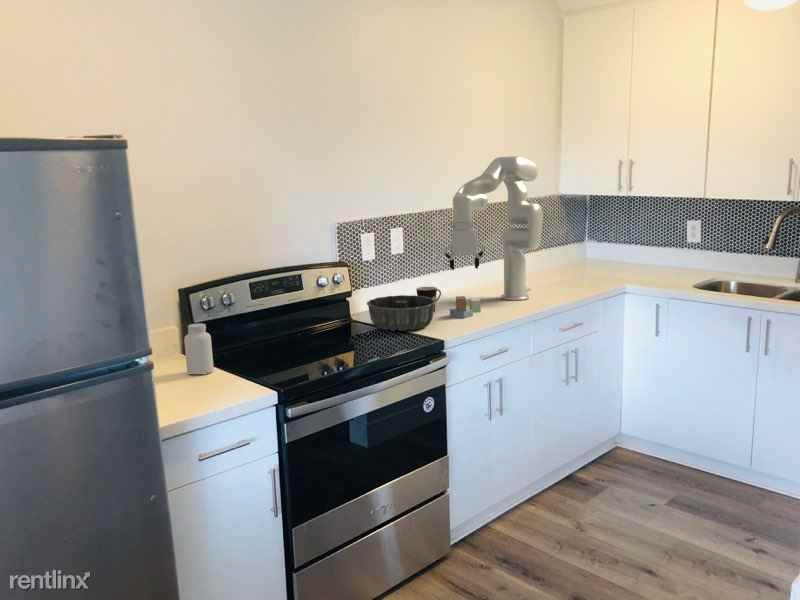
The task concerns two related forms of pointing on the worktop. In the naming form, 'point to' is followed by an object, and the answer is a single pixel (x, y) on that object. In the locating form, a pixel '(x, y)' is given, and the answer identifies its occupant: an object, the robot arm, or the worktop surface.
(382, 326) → the bundt pan
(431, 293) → the coffee mug
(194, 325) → the pill bottle
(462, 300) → the walnut block
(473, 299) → the sage block
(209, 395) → the worktop surface
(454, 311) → the slate block
